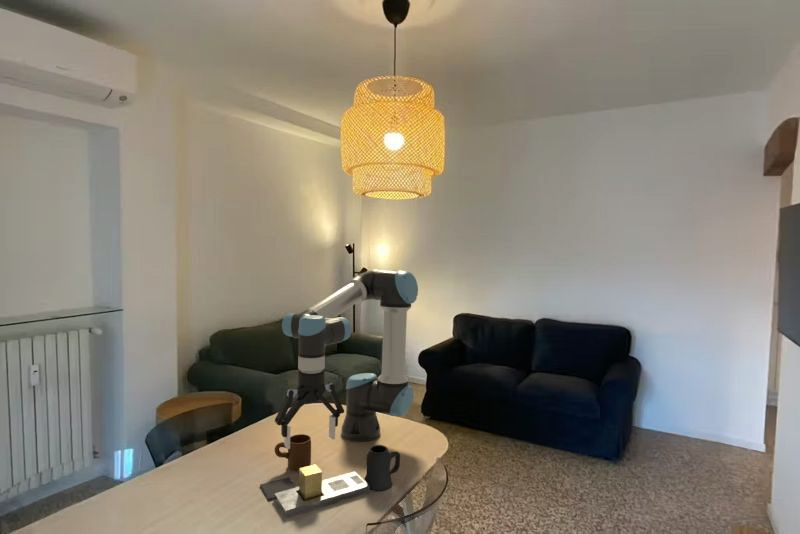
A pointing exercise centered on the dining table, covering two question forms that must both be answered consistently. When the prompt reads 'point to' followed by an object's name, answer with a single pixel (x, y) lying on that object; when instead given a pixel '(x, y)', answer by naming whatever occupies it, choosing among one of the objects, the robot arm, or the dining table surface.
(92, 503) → the dining table surface
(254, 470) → the dining table surface
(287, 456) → the mug
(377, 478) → the mug
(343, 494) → the grey board with slots
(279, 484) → the rubber mat
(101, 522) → the dining table surface
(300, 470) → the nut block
